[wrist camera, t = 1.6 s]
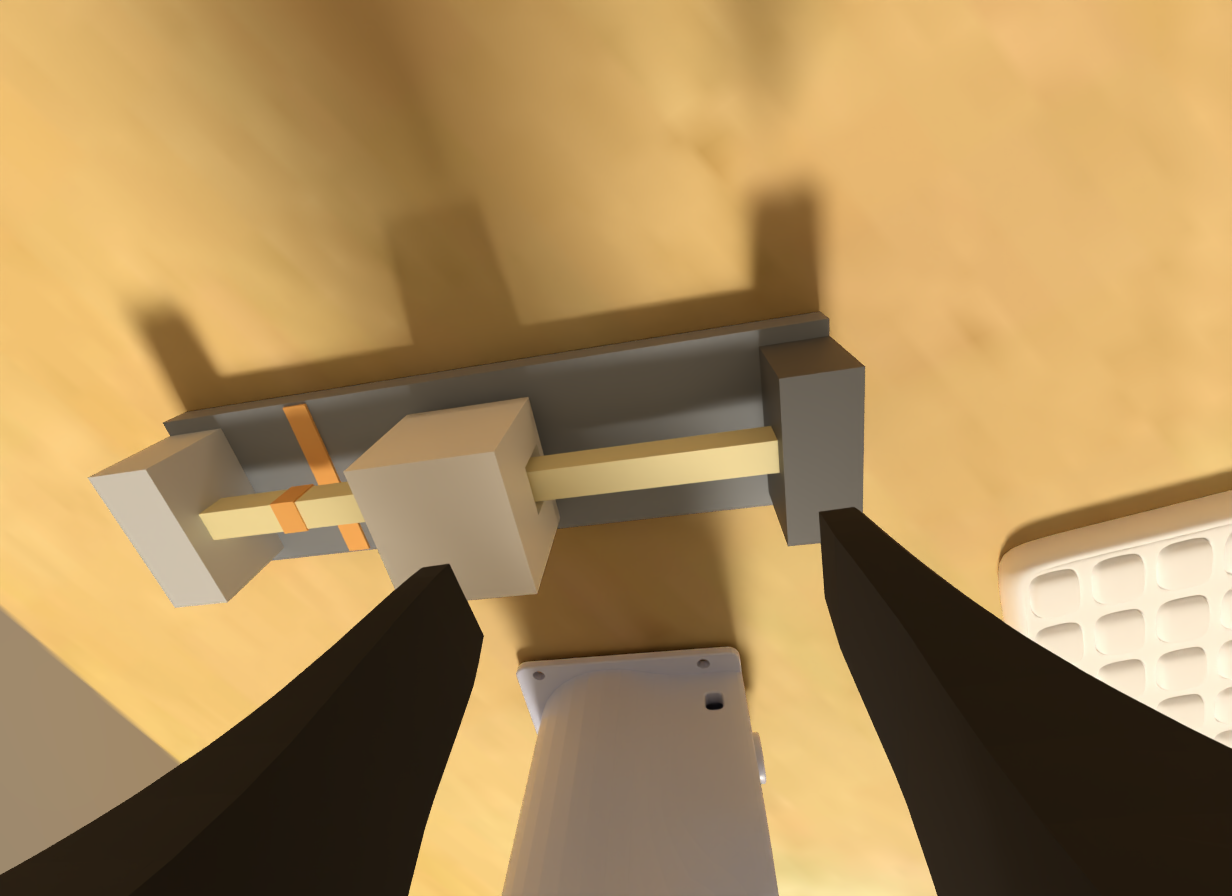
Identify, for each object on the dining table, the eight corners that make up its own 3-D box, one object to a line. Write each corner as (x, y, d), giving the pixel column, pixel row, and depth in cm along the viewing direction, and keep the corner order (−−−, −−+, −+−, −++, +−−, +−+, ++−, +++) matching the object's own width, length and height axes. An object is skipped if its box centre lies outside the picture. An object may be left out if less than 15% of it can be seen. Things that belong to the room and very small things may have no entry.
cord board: (819, 311, 16) (865, 346, 13) (822, 483, 19) (861, 553, 15) (186, 412, 19) (77, 463, 16) (260, 548, 22) (182, 618, 18)
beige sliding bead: (528, 396, 16) (494, 451, 13) (560, 518, 18) (537, 593, 15) (406, 414, 17) (343, 471, 14) (449, 530, 19) (402, 606, 15)
